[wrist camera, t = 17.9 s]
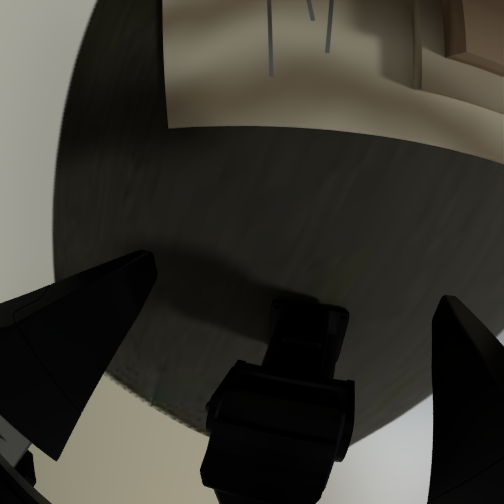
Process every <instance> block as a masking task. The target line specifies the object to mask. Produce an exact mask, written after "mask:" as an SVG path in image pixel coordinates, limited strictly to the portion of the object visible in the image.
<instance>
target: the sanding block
mask: <svg viewBox="0 0 504 504" xmlns="http://www.w3.org/2000/svg"><path fill="white" fill-rule="evenodd" d="M410 2H411V13H412V28H413V90H418V91H422V92H427V93H431V94H436V95H440V96H444V97H448V98H451V99H455V100H459V101H462V102H466V103H469V104H472V105H476V106H479V107H482V108H485V109H488V110H491V111H494V112H496V113H499V114H502V115H504V0H410Z"/></svg>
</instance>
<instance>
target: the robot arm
mask: <svg viewBox="0 0 504 504" xmlns="http://www.w3.org/2000/svg"><path fill="white" fill-rule="evenodd" d="M156 279H157V269H156V264H155V260H154V256H153V253H152V252H150V251H146V250H138V251H136V252H133V253H130V254H128V255H125V256H122V257H119V258H117V259H114V260H111V261H109V262H106V263H104V264H101V265H98V266H96V267H93V268H91V269H88V270H85V271H83V272H80V273H78V274H75V275H73V276H70V277H68V278H65V279H63V280H60V281H58V282H55V283H53V284H51V285H48V286H45V287H43V288H41V289H38V290H35V291H33V292H30V293H28V294H25V295H22V296H20V297H17V298H14V299H11V300H9V301H6V302H3V303H0V504H51V503H50V502H49V501H48V500H47V499H46V498H44V497H43V496H42V495H41V494H40V493H39V492H38V491H37V490H36V489H35V488H34V485H35V484H36V477H35V471H34V463H33V454H32V453H31V452H30V451H29V450H28V448H29V447H30V445H31V444H32V443H33V444H34V445H35V446H36V447H38V448H39V449H40V450H42V451H43V452H44V453H45V454H47V455H48V456H49V457H51V458H52V459H53V460H55V461H57V460H58V459H59V457H60V455H61V453H62V451H63V449H64V447H65V445H66V443H67V441H68V439H69V437H70V435H71V433H72V431H73V429H74V427H75V425H76V423H77V421H78V419H79V417H80V416H81V413H82V412H83V410H84V408H85V406H86V404H87V402H88V400H89V398H90V397H91V395H92V393H93V391H94V389H95V388H96V386H97V384H98V382H99V381H100V379H101V377H102V375H103V374H104V372H105V370H106V368H107V367H108V365H109V363H110V361H111V360H112V358H113V356H114V355H115V353H116V351H117V349H118V348H119V346H120V344H121V343H122V341H123V339H124V338H125V336H126V334H127V333H128V331H129V330H130V328H131V326H132V325H133V323H134V321H135V320H136V318H137V316H138V315H139V313H140V311H141V309H142V307H143V305H144V303H145V301H146V299H147V297H148V295H149V293H150V291H151V289H152V287H153V285H154V283H155V281H156ZM276 305H279V306H276ZM342 315H345V316H344V317H343V316H342ZM348 321H349V312H348V311H347V310H343V309H336V308H329V307H322V306H316V305H309V304H303V303H297V302H290V301H284V300H278V299H276V300H274V301H273V302H272V304H271V327H270V343H269V346H268V348H267V351H266V354H265V357H264V359H263V362H262V365H261V366H259V365H255V364H250V363H246V361H242V360H238V361H237V362H236V364H235V365H234V367H232V368H231V369H230V371H229V372H228V374H227V375H226V377H225V378H224V380H223V381H222V382H221V384H220V385H219V387H218V388H217V390H216V391H215V392H214V394H213V395H212V397H211V399H210V401H209V402H208V403H207V404H206V407H205V411H206V413H207V421H206V430H207V433H208V434H210V439H209V443H208V447H207V450H206V454H205V456H204V459H203V462H202V465H201V468H200V474H201V479H202V483H203V485H204V486H206V487H209V488H212V489H214V491H215V494H216V496H217V499H218V501H219V504H316V503H317V501H319V499H320V498H321V495H322V492H323V491H324V489H325V487H326V484H327V482H328V479H329V475H330V473H331V470H332V466H333V463H334V461H336V462H342V461H343V459H344V457H345V455H346V453H347V450H348V447H349V444H350V441H351V437H352V432H353V426H354V412H355V381H353V380H347V381H344V380H337V379H333V378H334V371H335V364H336V362H337V361H338V358H339V354H340V351H341V347H342V344H343V340H344V336H345V333H346V329H347V325H348ZM432 387H433V450H432V465H431V476H430V486H429V494H428V502H427V504H504V346H503V345H502V344H501V343H500V342H499V340H498V339H497V338H496V337H495V336H494V335H493V334H492V333H491V332H490V331H489V330H488V329H487V327H486V326H485V325H484V324H483V323H482V322H481V321H480V320H479V319H478V318H477V317H476V316H475V315H474V314H473V313H472V312H471V311H470V310H469V309H468V308H467V307H466V306H465V305H464V304H463V303H462V302H461V301H460V300H459V299H458V298H457V297H455V296H450V295H444V296H442V298H441V300H440V302H439V304H438V307H437V309H436V311H435V314H434V316H433V319H432Z"/></svg>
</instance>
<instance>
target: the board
mask: <svg viewBox="0 0 504 504" xmlns="http://www.w3.org/2000/svg"><path fill="white" fill-rule="evenodd" d="M163 51H164V73H165V90H166V104H167V117H168V128H182V127H202V126H280V127H300V128H314V129H326V130H337V131H347V132H355V133H363V134H371V135H378V136H385V137H391V138H397V139H403V140H408V141H414V142H419V143H424V144H429V145H434V146H438V147H443V148H447V149H451V150H456V151H460V152H464V153H468V154H471V155H475V156H479V157H482V158H486V159H489V160H493V161H496V162H499V163H502V164H504V115H502V114H499V113H496V112H494V111H491V110H488V109H485V108H482V107H479V106H476V105H472V104H469V103H466V102H462V101H459V100H455V99H451V98H448V97H444V96H440V95H436V94H431V93H427V92H422V91H418V90H413V28H412V13H411V2H410V0H163Z"/></svg>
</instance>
